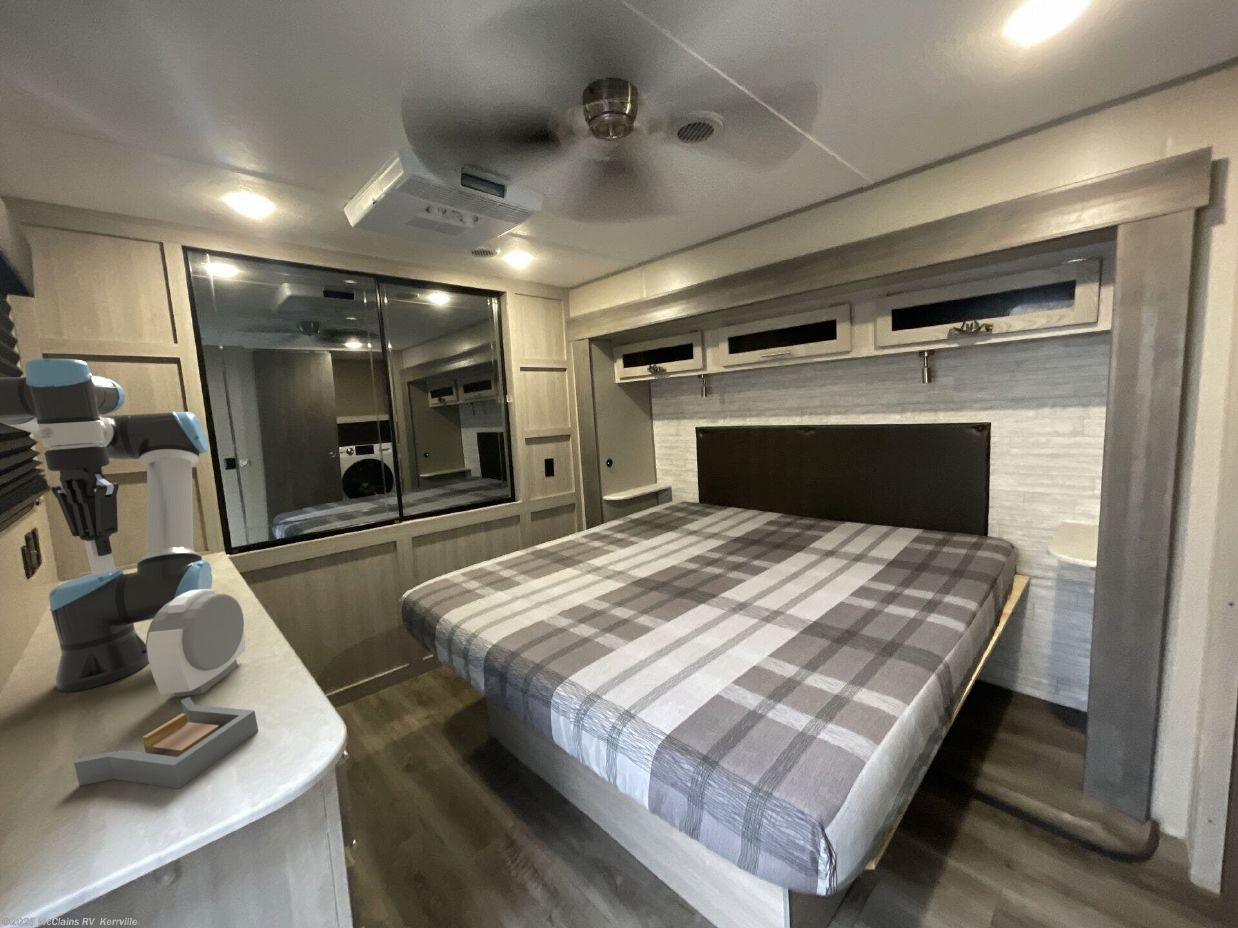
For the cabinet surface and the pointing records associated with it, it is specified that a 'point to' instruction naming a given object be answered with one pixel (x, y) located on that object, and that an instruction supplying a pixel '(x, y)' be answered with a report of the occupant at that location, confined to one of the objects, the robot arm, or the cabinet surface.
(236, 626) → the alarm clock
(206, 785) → the cabinet surface
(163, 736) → the tan block yellow end
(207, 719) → the bay
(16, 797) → the cabinet surface
